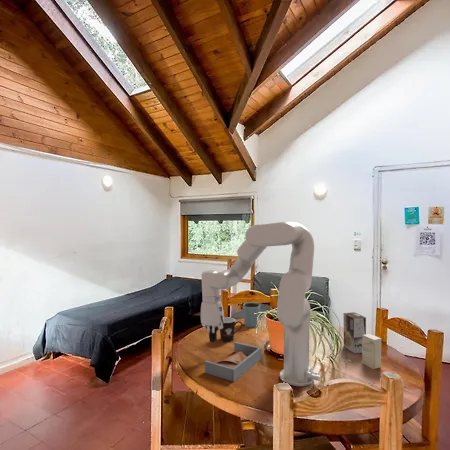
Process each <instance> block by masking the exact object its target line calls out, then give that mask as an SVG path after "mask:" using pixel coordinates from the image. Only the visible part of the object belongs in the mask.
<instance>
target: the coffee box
mask: <svg viewBox="0 0 450 450" xmlns="http://www.w3.org/2000/svg"><path fill="white" fill-rule="evenodd" d="M365 334H367V317H365V316H364V315H361V314H360V313H357V312H353V311H352V312H344V313H343V346H344V348H346V349H348V351H350V352H351V353H353V354H360V353H361V354H362V343H363V335H365Z"/></svg>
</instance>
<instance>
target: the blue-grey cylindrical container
mask: <svg viewBox="0 0 450 450" xmlns="http://www.w3.org/2000/svg"><path fill="white" fill-rule="evenodd" d="M242 307H243V308H242V309H243V325H244V327H246V328H257V327H256V325H257V317H258V314H254V313H258V312H261V304H260V303H258V302H253V301H251V302H250V301H249V302H245V303H243V304H242Z"/></svg>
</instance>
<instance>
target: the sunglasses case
mask: <svg viewBox="0 0 450 450" xmlns="http://www.w3.org/2000/svg"><path fill="white" fill-rule="evenodd" d="M247 357H248V356H247V355H244V354H243V353H242V352H241V351H239V352H238V353H236V352H235V353H234V354H232V355H230V356H227V357H226V358H224V359H222V360H221V361H220V360H219V361H218V362H216V363H217V364H220V365H224V366H227V367H231V368H234V367H235V366H236V365H238V364H239V363H240V362H242V361H243V360H244V359H245V358H247Z"/></svg>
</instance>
